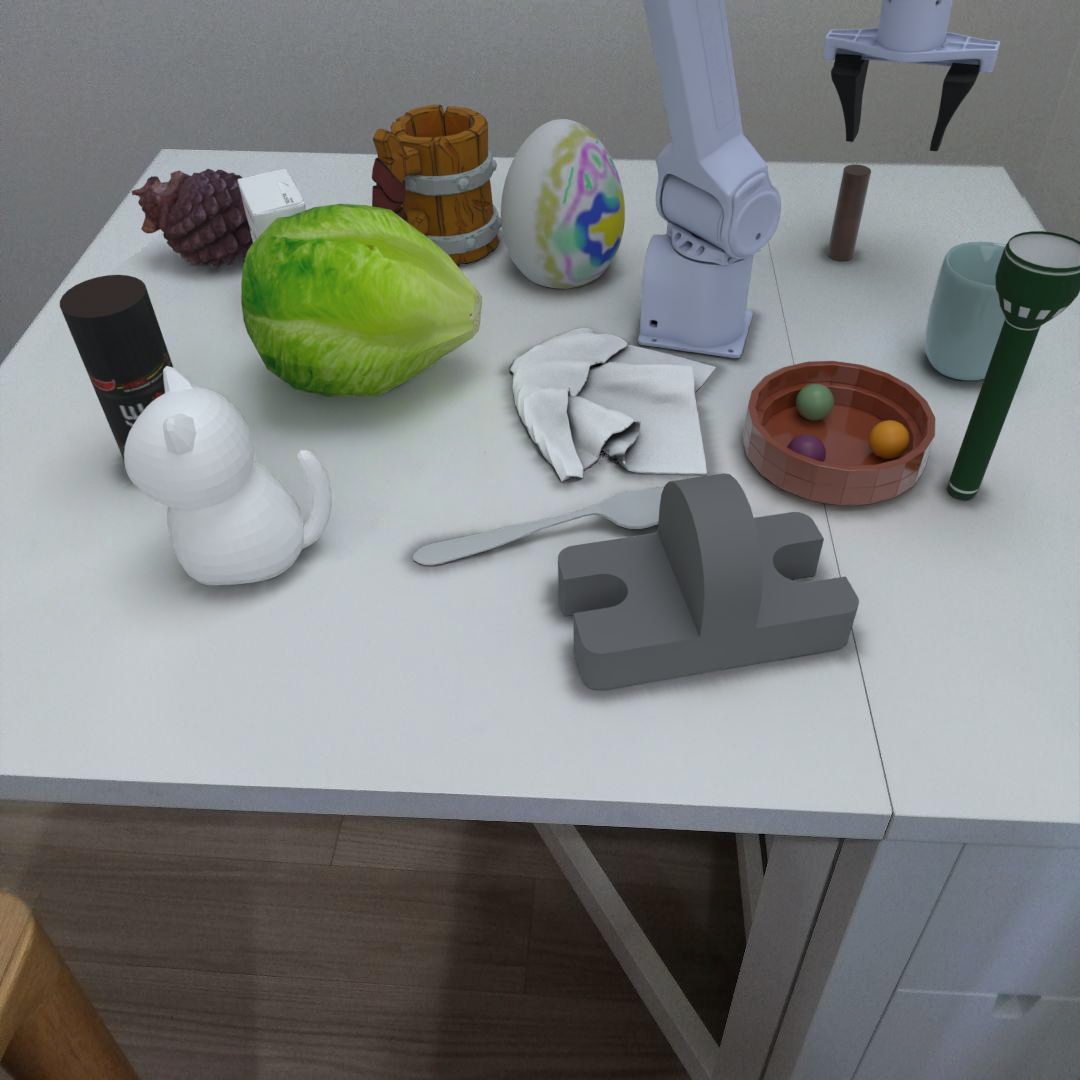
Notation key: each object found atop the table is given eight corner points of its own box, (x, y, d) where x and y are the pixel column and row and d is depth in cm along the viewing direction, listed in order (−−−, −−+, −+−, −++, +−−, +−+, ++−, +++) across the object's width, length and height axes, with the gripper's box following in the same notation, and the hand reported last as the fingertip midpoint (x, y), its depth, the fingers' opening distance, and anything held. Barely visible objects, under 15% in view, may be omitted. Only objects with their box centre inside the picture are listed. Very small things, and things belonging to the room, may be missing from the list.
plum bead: (780, 477, 75) (786, 447, 73) (785, 454, 77) (791, 423, 75) (820, 484, 75) (827, 454, 73) (824, 460, 77) (830, 430, 75)
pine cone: (304, 217, 110) (314, 160, 101) (305, 294, 108) (316, 242, 99) (135, 196, 105) (130, 133, 96) (132, 278, 102) (126, 220, 93)
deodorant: (135, 491, 77) (66, 326, 67) (121, 450, 81) (53, 287, 70) (209, 467, 79) (153, 303, 68) (192, 428, 83) (137, 267, 72)
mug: (521, 233, 106) (515, 90, 96) (430, 301, 97) (412, 150, 86) (442, 211, 111) (427, 72, 100) (347, 274, 101) (320, 127, 91)
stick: (826, 259, 101) (842, 174, 94) (828, 247, 102) (844, 163, 96) (852, 262, 100) (870, 176, 94) (853, 250, 102) (872, 165, 96)
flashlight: (1007, 488, 75) (1105, 245, 61) (980, 523, 72) (1077, 278, 58) (943, 461, 77) (1023, 222, 63) (915, 495, 74) (992, 253, 60)
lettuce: (469, 450, 83) (471, 306, 72) (232, 430, 83) (196, 282, 71) (485, 326, 94) (490, 182, 82) (275, 307, 93) (250, 160, 82)
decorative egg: (571, 313, 94) (570, 160, 84) (479, 274, 100) (468, 126, 90) (646, 264, 101) (654, 116, 90) (555, 230, 107) (553, 87, 96)
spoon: (692, 526, 73) (694, 509, 71) (417, 579, 69) (415, 563, 68) (673, 490, 75) (674, 474, 74) (409, 540, 72) (406, 524, 71)
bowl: (730, 492, 75) (736, 452, 72) (756, 389, 85) (762, 350, 82) (920, 525, 72) (933, 484, 69) (924, 414, 81) (937, 374, 79)
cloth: (571, 318, 94) (570, 295, 92) (780, 391, 84) (785, 368, 83) (434, 427, 82) (431, 403, 80) (660, 526, 73) (662, 502, 71)
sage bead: (791, 424, 80) (796, 394, 78) (795, 403, 82) (801, 374, 80) (828, 430, 79) (835, 400, 77) (831, 409, 81) (838, 379, 79)
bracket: (854, 646, 64) (890, 526, 56) (585, 692, 62) (586, 574, 54) (799, 546, 71) (825, 427, 63) (555, 584, 69) (552, 466, 61)
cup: (1013, 397, 83) (1053, 291, 76) (917, 388, 84) (948, 283, 77) (1001, 346, 88) (1037, 244, 81) (911, 339, 90) (940, 237, 83)
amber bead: (863, 463, 76) (871, 432, 74) (866, 440, 78) (874, 409, 76) (903, 469, 76) (913, 439, 74) (905, 446, 78) (914, 416, 76)
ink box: (262, 288, 99) (234, 175, 91) (310, 278, 101) (286, 165, 92) (279, 329, 94) (251, 212, 85) (330, 318, 95) (307, 201, 87)
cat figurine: (170, 532, 74) (103, 364, 63) (336, 499, 76) (297, 332, 65) (170, 618, 67) (95, 448, 57) (351, 580, 69) (311, 409, 59)
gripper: (1019, -29, 82) (981, 131, 92) (845, -37, 87) (827, 115, 97) (1006, 2, 78) (968, 166, 88) (824, -8, 83) (807, 147, 93)
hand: (893, 141), depth 92 cm, fingers open, 7 cm apart
